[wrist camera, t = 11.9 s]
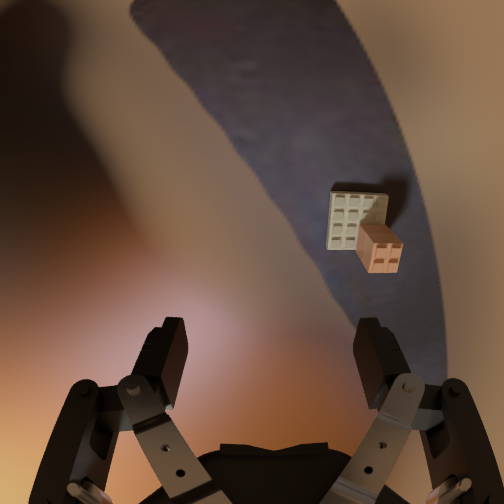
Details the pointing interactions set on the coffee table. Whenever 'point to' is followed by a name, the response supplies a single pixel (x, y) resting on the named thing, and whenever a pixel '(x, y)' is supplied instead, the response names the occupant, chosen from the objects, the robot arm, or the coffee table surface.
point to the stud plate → (353, 216)
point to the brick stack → (378, 248)
